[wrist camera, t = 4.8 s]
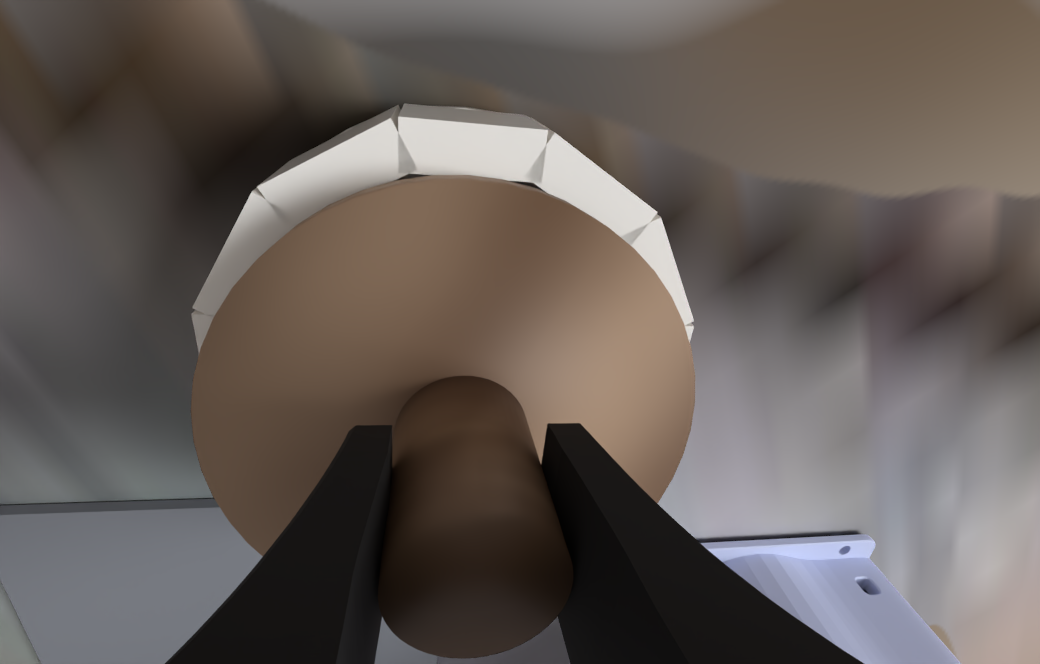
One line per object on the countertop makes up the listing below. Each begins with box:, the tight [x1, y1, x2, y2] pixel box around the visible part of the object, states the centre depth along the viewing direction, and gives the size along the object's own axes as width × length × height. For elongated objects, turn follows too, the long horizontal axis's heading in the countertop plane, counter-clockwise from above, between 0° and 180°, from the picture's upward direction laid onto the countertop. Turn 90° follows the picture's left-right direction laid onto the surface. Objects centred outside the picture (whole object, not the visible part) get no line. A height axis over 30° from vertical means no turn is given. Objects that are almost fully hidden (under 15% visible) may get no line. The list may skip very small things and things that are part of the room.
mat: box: [0, 499, 437, 664], centre depth 20 cm, size 14×10×1 cm
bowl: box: [191, 104, 694, 352], centre depth 14 cm, size 11×11×4 cm
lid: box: [191, 175, 695, 658], centre depth 10 cm, size 10×10×5 cm
